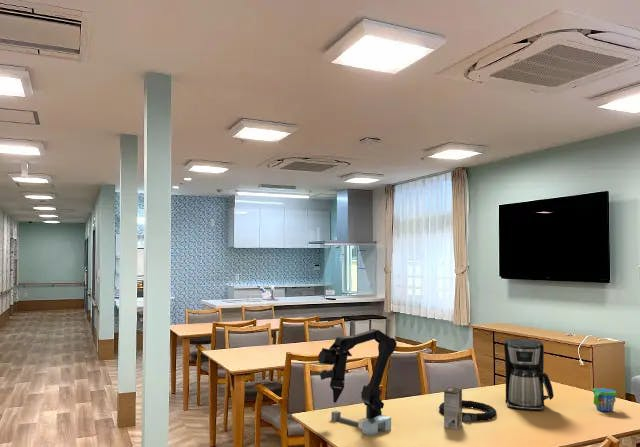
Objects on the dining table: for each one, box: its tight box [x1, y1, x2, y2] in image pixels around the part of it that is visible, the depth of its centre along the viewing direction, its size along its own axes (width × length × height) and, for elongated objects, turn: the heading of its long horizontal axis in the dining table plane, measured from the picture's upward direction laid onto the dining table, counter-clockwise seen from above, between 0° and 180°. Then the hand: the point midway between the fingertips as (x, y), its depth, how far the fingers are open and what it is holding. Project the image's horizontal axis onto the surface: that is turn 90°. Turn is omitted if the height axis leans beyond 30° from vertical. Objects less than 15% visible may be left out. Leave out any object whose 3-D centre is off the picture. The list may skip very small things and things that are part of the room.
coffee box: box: [443, 386, 463, 430], centre depth 244 cm, size 9×6×16 cm
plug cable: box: [330, 410, 368, 430], centre depth 243 cm, size 22×4×4 cm, turn 47°
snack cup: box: [592, 387, 617, 413], centre depth 276 cm, size 16×10×10 cm
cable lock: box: [438, 399, 498, 423], centre depth 264 cm, size 28×4×30 cm
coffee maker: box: [503, 338, 554, 411], centre depth 288 cm, size 23×32×34 cm
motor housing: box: [361, 414, 392, 437], centre depth 233 cm, size 5×14×5 cm, turn 137°
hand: (334, 400), depth 240 cm, fingers open, 9 cm apart
